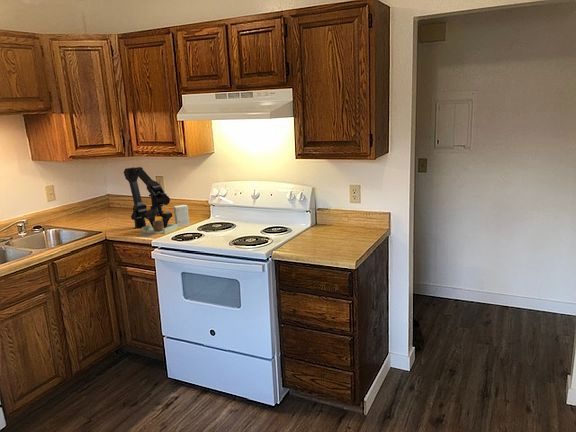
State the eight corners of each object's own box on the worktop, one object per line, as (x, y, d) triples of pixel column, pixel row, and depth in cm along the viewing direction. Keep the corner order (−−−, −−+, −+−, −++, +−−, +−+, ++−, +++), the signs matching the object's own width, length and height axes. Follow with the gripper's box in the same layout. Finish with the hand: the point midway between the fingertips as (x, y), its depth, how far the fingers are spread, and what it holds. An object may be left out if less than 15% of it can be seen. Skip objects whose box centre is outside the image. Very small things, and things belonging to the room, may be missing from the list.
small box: (187, 223, 312) (185, 204, 309) (189, 225, 306) (187, 205, 304) (175, 225, 309) (173, 206, 306) (177, 227, 303) (175, 207, 300)
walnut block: (153, 231, 294) (152, 221, 293) (159, 229, 298) (158, 220, 297) (160, 231, 292) (158, 222, 291) (165, 229, 296) (164, 220, 295)
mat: (135, 236, 283) (135, 236, 283) (145, 233, 291) (145, 232, 291) (148, 237, 279) (148, 237, 279) (158, 234, 287) (158, 233, 287)
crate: (142, 232, 294) (141, 227, 294) (155, 227, 305) (154, 223, 304) (165, 233, 286) (164, 228, 286) (178, 229, 297) (177, 224, 296)
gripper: (135, 205, 289) (138, 230, 292) (159, 206, 281) (162, 232, 284) (148, 202, 299) (151, 226, 302) (171, 203, 290) (174, 227, 294)
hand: (159, 228), depth 295 cm, fingers open, 9 cm apart
